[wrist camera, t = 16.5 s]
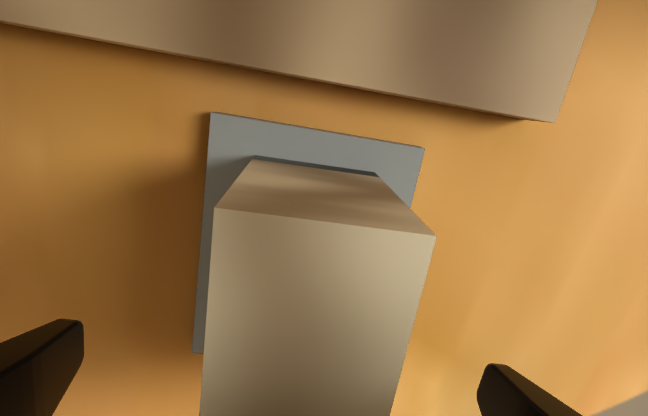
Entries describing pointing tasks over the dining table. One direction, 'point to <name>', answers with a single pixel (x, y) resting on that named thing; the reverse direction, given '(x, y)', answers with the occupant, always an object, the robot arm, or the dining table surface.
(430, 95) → the oak board
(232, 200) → the block
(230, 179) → the mat
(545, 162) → the dining table surface
